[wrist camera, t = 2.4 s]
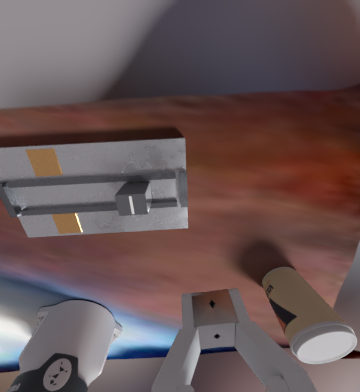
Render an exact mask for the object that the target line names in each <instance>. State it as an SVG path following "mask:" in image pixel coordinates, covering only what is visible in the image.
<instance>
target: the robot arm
mask: <svg viewBox="0 0 360 392" xmlns="http://www.w3.org/2000/svg"><path fill="white" fill-rule="evenodd" d="M37 320H38V327H37V329H36V331H35V332H34V334H33V335H32V337H31V338H30V340H29V342H28V343H27V345H26V346H25V348H24V350H23V351H22V353H21V355H20V356H19V360H20V361H19V366H20V374H19V376H17V378H16V379H15V380H14V382H13V383H12V385H11V387H10V388H9V389H8V390H7V392H87V391H88V385H89V384H90V383H91V382H92V381H93V380H94V379H96V378H97V377H98V375H100V374H101V372H102V369H103V366H104V363H105V360H106V357H107V354H108V351H109V348H110V345H111V343H112V342H113V341H114V340H115V339H116V338H118V337H119V336H120V335H121V332H122V327H121V326H120V325H119V324H117V323H116V322H115V320H114V317H113V316H112V314H111V313H110V312H109V311H108V310H107V309H105V308H104V307H102V306H100V305H98V304H95V303H92V302H88V301H82V300H71V301H65V302H62V303H59V304H57V305H55V306H49V307H42V308H40V310H39V311H38V313H37ZM182 321H183V329H180V330H179V332H178V334H177V336H176V338H175V340H174V342H173V344H172V346H171V348H170V350H169V353H168V355H167V357H166V359H165V361H164V363H163V365H162V367H161V369H160V371H159V373H158V375H157V377H156V379H155V382H154V384H153V386H152V392H194V389H193V388H192V386H190V383H191V380H192V376H193V373H194V370H195V367H196V364H197V361H198V357H199V354H200V349H207V348H215V347H227V346H235V348H236V349H237V350H238V352H239V353H240V354H241V356H242V357H243V359H244V360H245V361H246V363H247V364H248V365H249V367H250V368H251V369H252V371H253V372H254V373H255V375H256V376H257V377H258V379H259V380H260V381H261V383H262V384H263V385H264V387H265V392H317V391H316V389H315V387H314V385H313V383H312V381H311V379H310V377H309V375H308V374H307V372H306V371H305V370H304V369H303V368H302V367H301V366H300V365H299V364H298V363H297V362H296V361H295V360H293V359H292V358H291V357H290V356H289V355H288V354H287V353H286V352H285V351H284V350H283V349H282V348H281V347H280V346H279V345H278V344H277V343H276V342H275V341H274V340H273V339H272V338H271V337H270V336H269V335H267V334H266V333H265V332H264V331H263V330H262V329H261V328H260V327H259V326H258V325H257V324H256V323H255V322H254V321H253V322H251V321H250V318H249V316H248V313H247V311H246V308H245V305H244V303H243V300H242V298H241V295H240V293H239V290H238V289H237V288H234V289H223V290H215V291H209V292H198V293H187V294H182Z"/></svg>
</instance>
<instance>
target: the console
mask: <svg viewBox="0 0 360 392" xmlns="http://www.w3.org/2000/svg"><path fill="white" fill-rule="evenodd" d="M137 182H150V185H151V193H152V202H151V206H150V209H149V213H148V214H145V215H128V216H119V213H118V209H117V204H116V200H115V194H116V193H117V192H118V191H119V189H120V188H121V187H122V186H123V185H124V183H137ZM0 198H1V199H2V201H3V203H4V205H5V207H6V209H7V211H8V213H9V215H10V217H18V218H19V220H20V222H21V224H22V226H23V228H24V230H25V232H26V234H27V236H28V237H45V236H62V235H79V234H96V233H113V232H130V231H146V230H163V229H180V228H188V212H187V207H188V200H187V172H186V153H185V138H184V137H177V138H158V139H139V140H120V141H101V142H82V143H63V144H45V145H26V146H7V147H0Z"/></svg>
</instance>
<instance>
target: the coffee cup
mask: <svg viewBox="0 0 360 392" xmlns="http://www.w3.org/2000/svg"><path fill="white" fill-rule="evenodd" d="M262 285H263V288H264V290H265V293H266V295H267V297H268V299H269V301H270V304H271V306H272V308H273V310H274V312H275V314H276V317H277V319H278V321H279V323H280V325H281V327H282V329H283V332H284V334H285V336H286V338H287V340H288V342H289V344H290V348H291V350H292V352H293V354H294V355H295V356H297V358H298V359H299V360H300V361H302V362H305V363H309V364H322V363H327V362H331V361H335V360H337V359H340V358H342V357H344V356H346V355H347V354H349V353H350V352H351V351H352V350H353V349H354V348H355V346H356V344H357V338H356V336H355V334H354V331H353V329H352V328H351V327H350V326H349V325H348V324H346V323H345V322H344V321H343V320H342V319H341V318H340V317H339V315H338V314H337V313H336V312H335V311H334V310H333V309H332V308H331V307H330V306H329V305H328V304H327V303H326V302H325V300H324V299H323V298H322V297H321V296H320V295H319V294H318V293H317V292H316V291H315V290H314V289H313V288H312V287H311V286H310V285H309V284H308V283H307V282H306V281H305V279H304V278H303V277H302V276H301V275H300V274H299V273H298V272H297V271H296V270H294V269H293V268H290V267H279V268H275V269H273V270H271V271H270V272H268V273H267V274H266V275H265V276H264V278H263V280H262Z"/></svg>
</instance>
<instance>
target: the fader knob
mask: <svg viewBox="0 0 360 392" xmlns="http://www.w3.org/2000/svg"><path fill="white" fill-rule="evenodd" d="M115 200H116V204H117V209H118V213H119V216H128V215H145V214H148V213H149V209H150V206H151V202H152V193H151V185H150V182H137V183H124V185H123V186H122V187H121V188H120V189H119V191H118V192H117V193H116V194H115Z"/></svg>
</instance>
